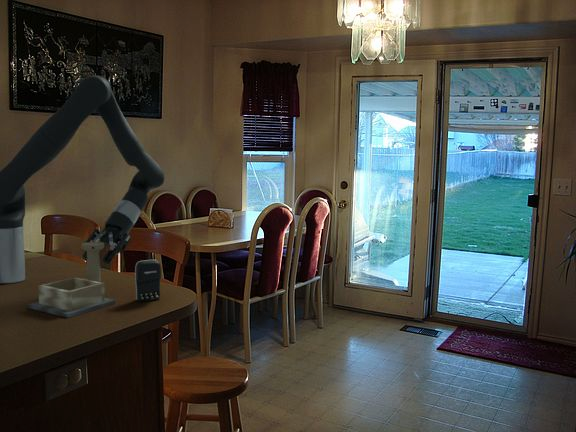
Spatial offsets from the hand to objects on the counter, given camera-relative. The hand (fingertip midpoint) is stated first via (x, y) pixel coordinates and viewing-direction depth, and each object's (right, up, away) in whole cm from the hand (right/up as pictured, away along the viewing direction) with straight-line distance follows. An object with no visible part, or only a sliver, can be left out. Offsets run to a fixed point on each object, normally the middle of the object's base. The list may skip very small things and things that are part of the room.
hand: (95, 261), depth 177 cm
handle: (0, -10, +1) cm, 10 cm away
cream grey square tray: (-2, -11, -12) cm, 17 cm away
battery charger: (+17, -11, -5) cm, 21 cm away
